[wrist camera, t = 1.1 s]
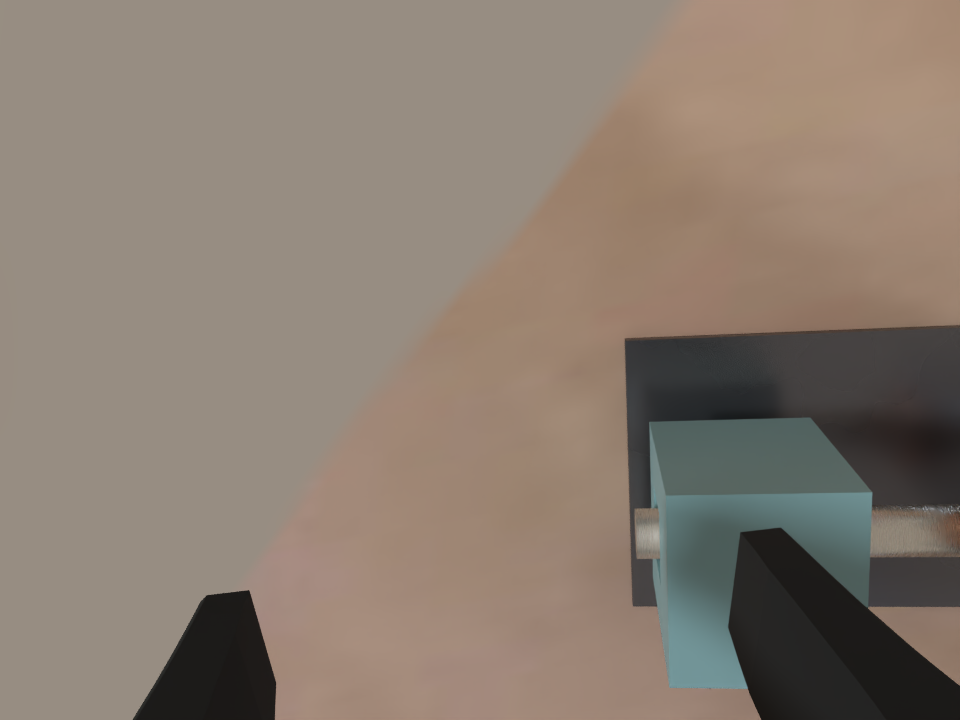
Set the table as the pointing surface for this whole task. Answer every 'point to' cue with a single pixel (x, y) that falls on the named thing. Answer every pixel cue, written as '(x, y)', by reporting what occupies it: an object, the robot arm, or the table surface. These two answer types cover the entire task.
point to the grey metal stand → (844, 421)
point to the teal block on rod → (743, 526)
